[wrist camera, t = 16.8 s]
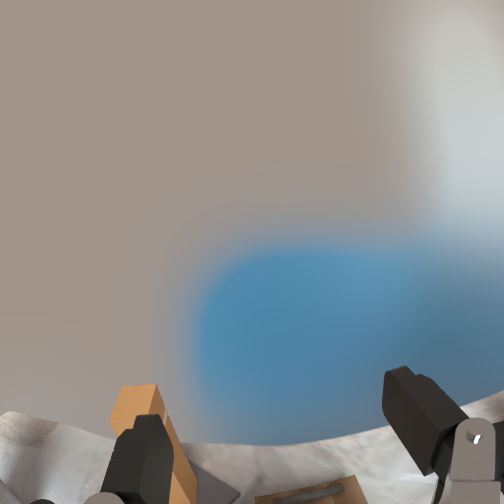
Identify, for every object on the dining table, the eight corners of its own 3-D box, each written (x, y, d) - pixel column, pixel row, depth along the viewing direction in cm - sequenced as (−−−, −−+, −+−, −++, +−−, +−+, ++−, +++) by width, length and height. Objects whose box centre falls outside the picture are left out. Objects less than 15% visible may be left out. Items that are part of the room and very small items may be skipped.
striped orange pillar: (197, 479, 35) (156, 383, 31) (196, 513, 29) (147, 419, 25) (169, 481, 35) (122, 385, 31) (166, 513, 29) (108, 420, 25)
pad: (181, 544, 25) (179, 541, 25) (131, 498, 32) (129, 495, 32) (240, 495, 33) (239, 492, 33) (186, 461, 40) (185, 458, 40)
